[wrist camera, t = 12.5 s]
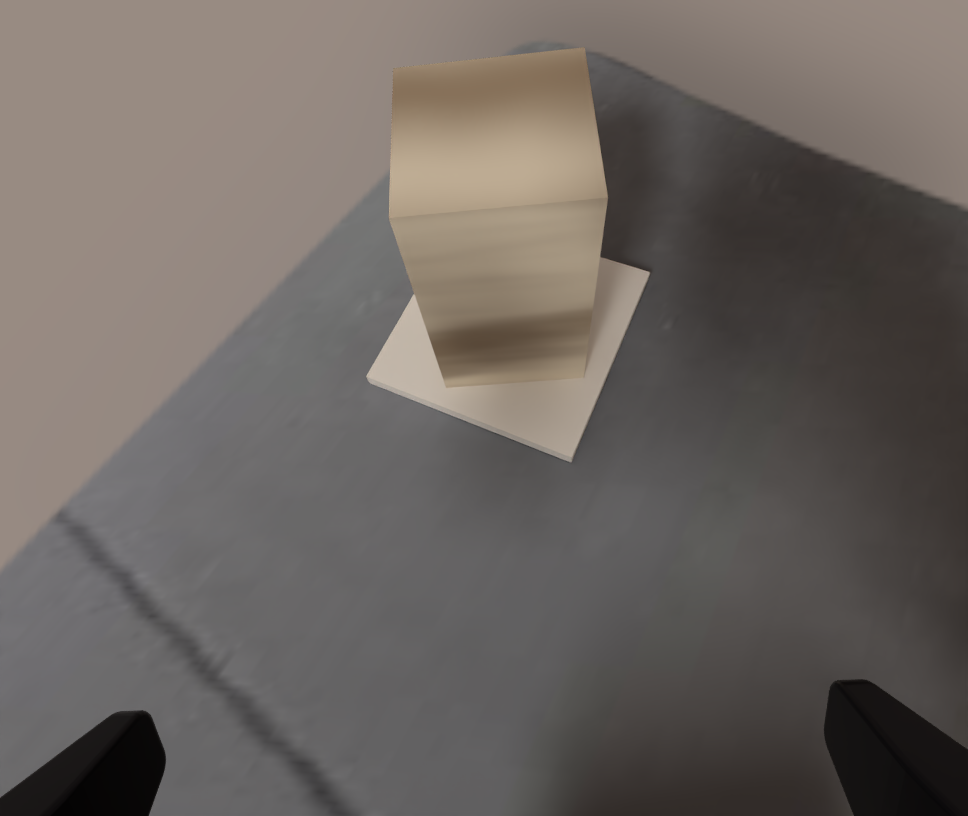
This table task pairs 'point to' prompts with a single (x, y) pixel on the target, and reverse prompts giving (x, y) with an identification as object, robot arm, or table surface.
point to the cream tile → (525, 405)
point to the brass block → (500, 212)
